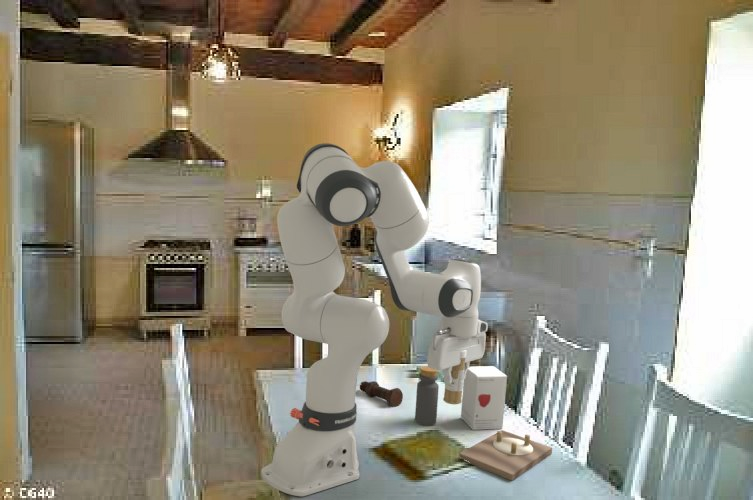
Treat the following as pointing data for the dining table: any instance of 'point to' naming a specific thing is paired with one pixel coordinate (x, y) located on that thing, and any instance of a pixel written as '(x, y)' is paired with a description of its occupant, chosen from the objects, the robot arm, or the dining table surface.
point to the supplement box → (484, 397)
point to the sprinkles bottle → (456, 382)
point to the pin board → (506, 454)
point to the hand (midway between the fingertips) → (454, 381)
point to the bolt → (382, 393)
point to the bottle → (427, 397)
